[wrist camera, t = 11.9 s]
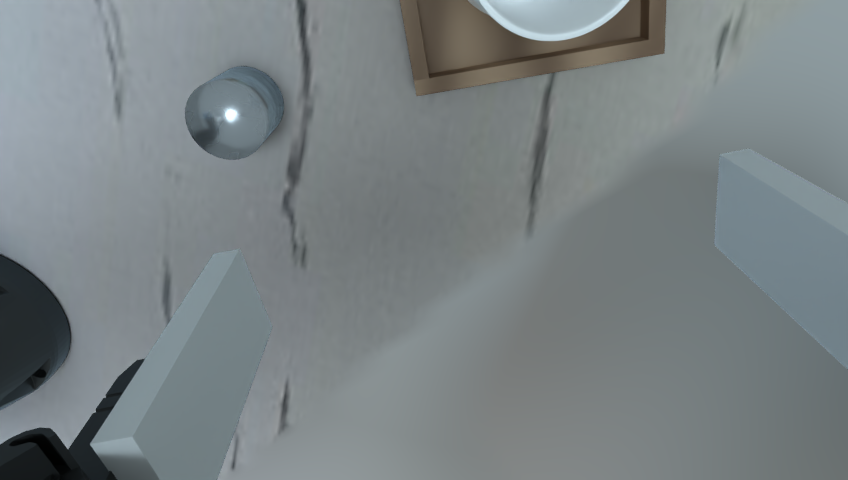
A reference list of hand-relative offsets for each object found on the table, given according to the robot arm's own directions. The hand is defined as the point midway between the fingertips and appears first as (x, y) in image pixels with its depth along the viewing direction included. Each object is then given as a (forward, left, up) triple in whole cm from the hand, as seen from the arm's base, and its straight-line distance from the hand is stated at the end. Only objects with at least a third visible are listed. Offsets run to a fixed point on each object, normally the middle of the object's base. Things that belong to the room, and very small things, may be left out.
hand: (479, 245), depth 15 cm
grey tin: (-14, 0, -25) cm, 29 cm away
